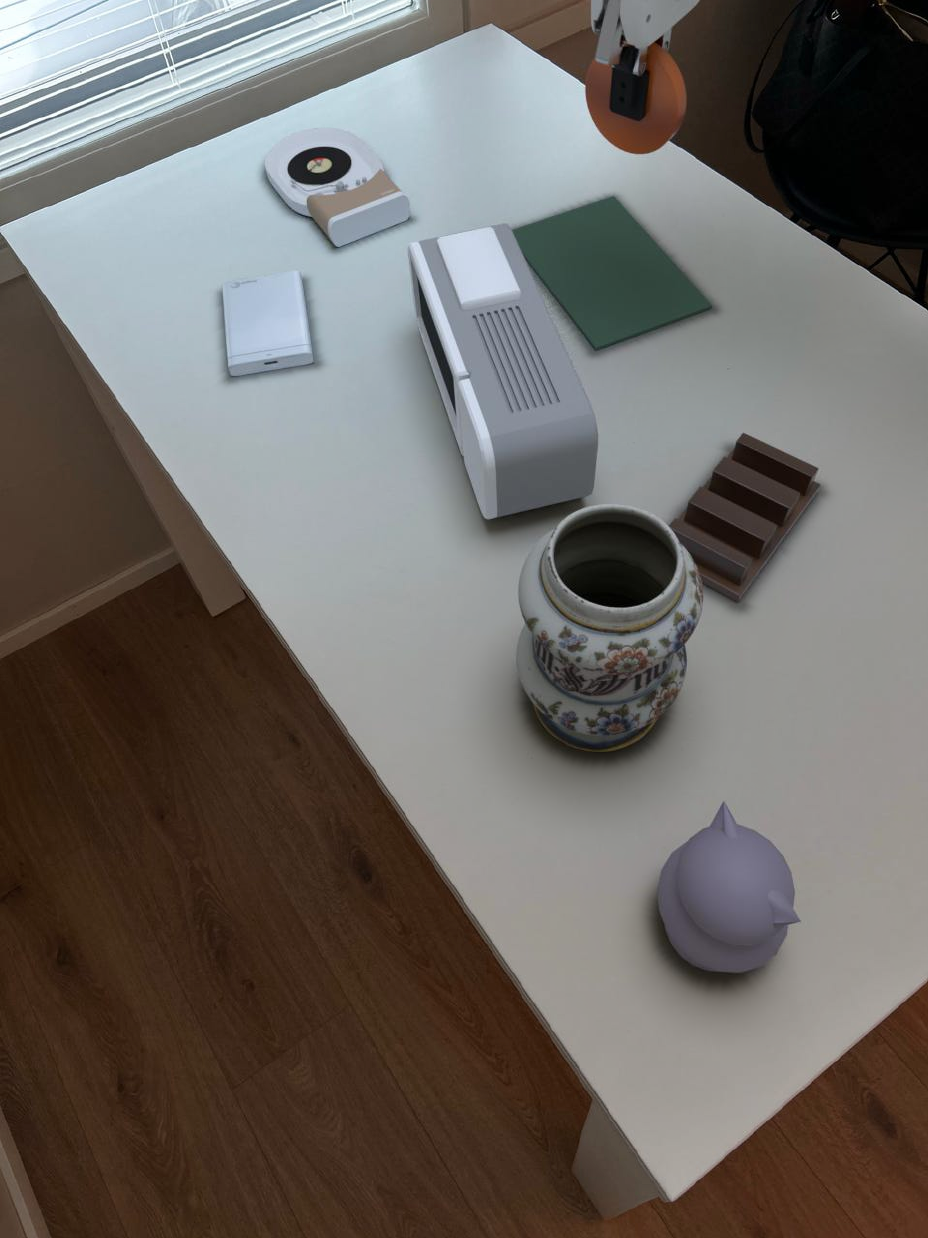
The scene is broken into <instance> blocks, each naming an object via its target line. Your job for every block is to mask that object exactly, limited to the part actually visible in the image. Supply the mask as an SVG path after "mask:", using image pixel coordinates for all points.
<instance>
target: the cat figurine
mask: <svg viewBox="0 0 928 1238" xmlns="http://www.w3.org/2000/svg"><path fill="white" fill-rule="evenodd" d="M658 879H659V880H658V884H657V901H658V911H659V915H660V917H661V919H662V922H663V924H664V931H665V933H666V936H667V938H668V941H669V943H670V945H671V946H672V947H673V949H674V950H675V952H676V953H677V954H678V955H679V956H680V957H681V958H682V959H683V960H685V961H686V962H687V963H689V964H690V965H691V966H693V967H696V968H698V969H700V970H701V969H702V970H704V971H706V972H712V973H713V972H716V973H717V972H718V973H735V974H741V973H746V972H749V971H752V970H755V969H758V968H762V967H763V966H764V965H765V964H767V962H769V961H770V960H771V959H772V958H774V957H775V956H776V955H777V954H778V952H779V950H780V948H781V947H782V945H783V943H784V941H785V940H786V938H787V935H788V931H789V925H792V924H797V923H801V922H802V920H801V919H800V917H799V916H798V914H797V913H796V911H795V909H794V903H795V897H796V889H795V884H794V877H793V874H792V870H791V868H790V867H789V864H788V862H787V860H786V858H785V856H784V855H783V854H782V852H781V851H780V850H779V849H778V848H777V847H776V846H775V844H774V843H773V842H772V840H770V839H769V838H767V837H765V836H764V835H762V834H761V833H759V832H758V831H757V830H755V829H753V828H749V827H748V826H744V825H741V824H739V823H738V822H737V821H736V819H735V818H734V816H733V814H732V812H731V810H730V809H729V807H728V805H727V803H726V801H725V800H723V801H722V803H721V805H720V807H719V808H718V810H717V812H716V814H715V815H714V818H713V819H712V822H711V823H710V825H709V826H707V827H703V828H702V829H700V830H699V831H697V832H696V833H695V834H693V835H692V836H691V837H689V839H688V840H687V841H685V842H684V843H682V844H681V845H680V846H679V847H678V848H676V849H675V850H673V851H672V852H671V853H670V855H669V857H668V858H667V860H666V861H665V863H664V865H662V868H661V869H660V875H659V878H658Z"/></svg>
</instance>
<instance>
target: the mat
mask: <svg viewBox="0 0 928 1238" xmlns="http://www.w3.org/2000/svg"><path fill="white" fill-rule="evenodd" d="M512 232H513V234H514V236H515V238H516V240H517V243H518V245H519V247H520V249H521V251H522V254H523V256H524V258H525V260H526V262H527V264H528V265H529V266H530V267H531V269H532V270H533V271H534V273H535V274H536V275H537V277H539V279H540V280H541V282H542V283H543V284H544V285H545V287H546V288H547V290H548V291H549V292H550V294H551V295H552V296H553V297H554V298H555V300H556V301H557V302H558V304H560V306H561V307H562V309H563V310H564V311H565V313H566V314H567V315H568V317H569V318H570V320H572V322H573V323H574V324H575V326H576V327H577V329H578V330H579V331H580V332H581V333H582V335H583V336H584V338H585V339H586V340H587V341H588V343H589V344H590V345H591V347H592V348H593V350H595V351H600V350H601V349H605V348H607V347H610V346H613V345H616V344H618V343H622V342H623V341H626V340H630V339H632V338H634V337H637V336H640V335H643V334H646V333H648V332H651V331H655V330H658V329H659V328H663V327H665V326H668V325H670V324H673V323H675V322H679V321H681V320H684V319H687V318H690V317H692V316H695V315H698V314H701V313H704V312H706V311H709V310H712V309H713V304H712V303H710V301H709V299H707V298H706V297H705V296H704V294H703V293H702V292H701V291H700V290H699V289H698V288H697V287H696V285H695V284H694V283H693V282H692V281H691V280H690V279H689V278H688V277H687V275H686V274H685V273H683V271H682V269H680V268H679V267H678V265H676V263H675V262H674V261H673V260H672V259H671V258H670V256H668V254H667V253H666V252H665V251H664V249H662V248H661V247H660V246H659V244H658V243H657V242H656V241H655V240H654V239H653V238H652V237H651V235H650V234H648V232H647V231H646V230H645V229H644V228H643V226H641V224H640V223H639V222H638V221H637V220H636V219H635V218H634V217H633V216H632V214H630V212H629V210H627V209H626V208H625V207H624V205H622V203H621V202H620V201H619V200H618V198H617V197H616V196H614V195H612V196H608V197H606V198H602V199H600V200H598V201H594V202H591V203H588V204H585V205H582V206H579V207H577V208H573V209H570V210H567V211H564V212H561V213H558V214H554V215H553V216H549V217H546V218H544V219H540V220H538V221H534V222H531V223H528V224H525V225H522V226H519V227H517V228H513V229H512Z"/></svg>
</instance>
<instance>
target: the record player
mask: <svg viewBox="0 0 928 1238" xmlns="http://www.w3.org/2000/svg"><path fill="white" fill-rule="evenodd" d="M264 168H265V172H266V175H267V179H268V181H269V183H270V185H271V186H272V187H273V189H275V191H276V192H277V193H278V195H279V197H281V199H282V200H283V201H284V202H285V203H286V205H288V207H289V208H290V209H291V210H293V211H294V212H296V213H297V214H300V215H303V216H306V217H311V218H312V219H313V220H314V221H315V222H316V223H317V225H318V226H319V227H320V229H321V230H322V231H323V232H324V233H325V234H326V236H327V237H328V238H329V240H330V241H331V242H332V243H333V245H334V246H335V247H336V248H337V247H338V248H340V247H344V246H346V245H349V244H351V243H353V242H356V241H358V240H361V239H363V238H366V237H368V236H371V235H372V234H376V233H378V232H381V231H383V230H386V229H388V228H391V227H393V226H396V225H399V224H401V223H403V222H406V221H407V220H408V219H409V217H410V213H411V205H410V200H409V198H408V196H407V195H406V194H405V193H404V192H403V191H402V189H400V188H399V186H398V185H397V184H396V183H395V182H394V181H393V180H392V179H391V178H390V176H388V174H386V172H385V170H384V166H383V163H382V161H381V160H380V159H379V158H378V157H377V156H376V154H375V153H374V151H372V150H371V148H370V147H369V146H368V145H367V144H366V143H365V142H364V141H363V140H362V139H361V138H360V137H358V136H357V135H356V134H354V133H352V132H350V131H347V130H345V129H341V128H334V127H316V128H315V127H314V128H309V129H308V128H307V129H303V130H299V131H297V132H294V133H291V134H289V135H287V136H285V137H283V138H282V139H280V140H278V141H277V142H275V144H274V145H273V146H271V148H270V149H269V150H268V152H267V153H266V156H265V159H264Z"/></svg>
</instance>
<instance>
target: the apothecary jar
mask: <svg viewBox="0 0 928 1238" xmlns="http://www.w3.org/2000/svg"><path fill="white" fill-rule="evenodd" d="M517 590H518V591H517V595H518V596H517V597H518V605H519V609H520V612H521V616H522V618H523V621H524V624H523V627H522V629H521V631H520V634H519V637H518V640H517V643H516V644H517V645H516V652H515V653H516V655H515V656H516V657H515V659H516V669H517V674H518V678H519V681H520V682H521V684H522V687H523V690H524V691H525V693H526V695H527V697H528V699H529V700H530V701H531V702H532V704H533V708H534V711H535V714H536V716H537V718H538V720H539V722H540V723H541V725H542V726H543V728H545V730H546V731H547V732H548V733H549V734H550V735H551V736H553V737H554V738H555V739H557V740H558V741H560V742H562V743H563V744H565V745H567V746H568V747H571V748H573V749H577V750H581V751H586V752H592V753H593V752H595V753H606V752H613V751H617V750H620V749H624V748H626V747H629V746H631V745H633V744H635V743H637V742H638V741H639V740H641V739H642V738H643V737H644V736H646V734H647V733H649V732H650V730H651V729H652V728H654V725H655V724H656V723H657V721H658V719H659V718H660V717H661V716H662V715H663V714H664V713H666V711H668V709H669V708H670V707H671V706H672V705H673V704H674V702H675V700H676V699H677V697H678V696H679V694H680V692H681V690H682V687H683V685H684V682H685V678H686V674H687V664H688V659H687V657H688V656H687V655H688V654H687V649H686V643H687V642H688V641H689V639H690V638H691V636H693V634H694V632H695V630H696V629H697V627H698V624H699V621H700V618H701V616H702V612H703V605H704V587H703V583H702V581H701V577H700V573H699V571H698V568H697V566H696V564H695V562H694V560H693V558H692V557H691V555H690V554H689V552H688V551H687V550H686V548H685V547H684V546H683V545H682V544H681V543H680V542H679V540H678V538H677V537H676V535H675V534H674V532H673V531H672V530H671V528H670V527H669V525H668V523H666V522H665V521H663V520H662V519H661V518H660V517H659V516H657V515H655V514H653V513H651V512H649V511H648V510H644V509H642V508H640V507H636V506H633V505H627V504H619V503H603V504H601V503H600V504H594V505H589V506H585V507H583V508H580V509H578V510H576V511H573V512H571V513H570V514H568V515H567V516H565V518H563V519H561V521H560V522H559V523H558V524H557V526H555V527H554V528H552V529H550V531H548V532H547V533H546V534H544V535H543V536H542V537H541V538H540V539H539V540H538V541H537V542H536V543H535V544H534V545H533V547H532V548H531V550H530V551H529V553H528V555H527V556H526V558H525V559H524V563H523V565H522V568H521V570H520V575H519V578H518V589H517Z"/></svg>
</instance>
